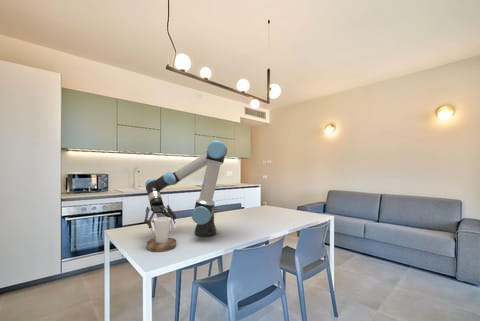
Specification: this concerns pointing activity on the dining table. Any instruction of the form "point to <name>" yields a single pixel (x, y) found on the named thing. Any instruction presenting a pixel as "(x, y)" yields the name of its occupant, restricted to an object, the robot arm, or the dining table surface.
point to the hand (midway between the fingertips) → (164, 230)
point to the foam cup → (162, 229)
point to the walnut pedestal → (161, 245)
